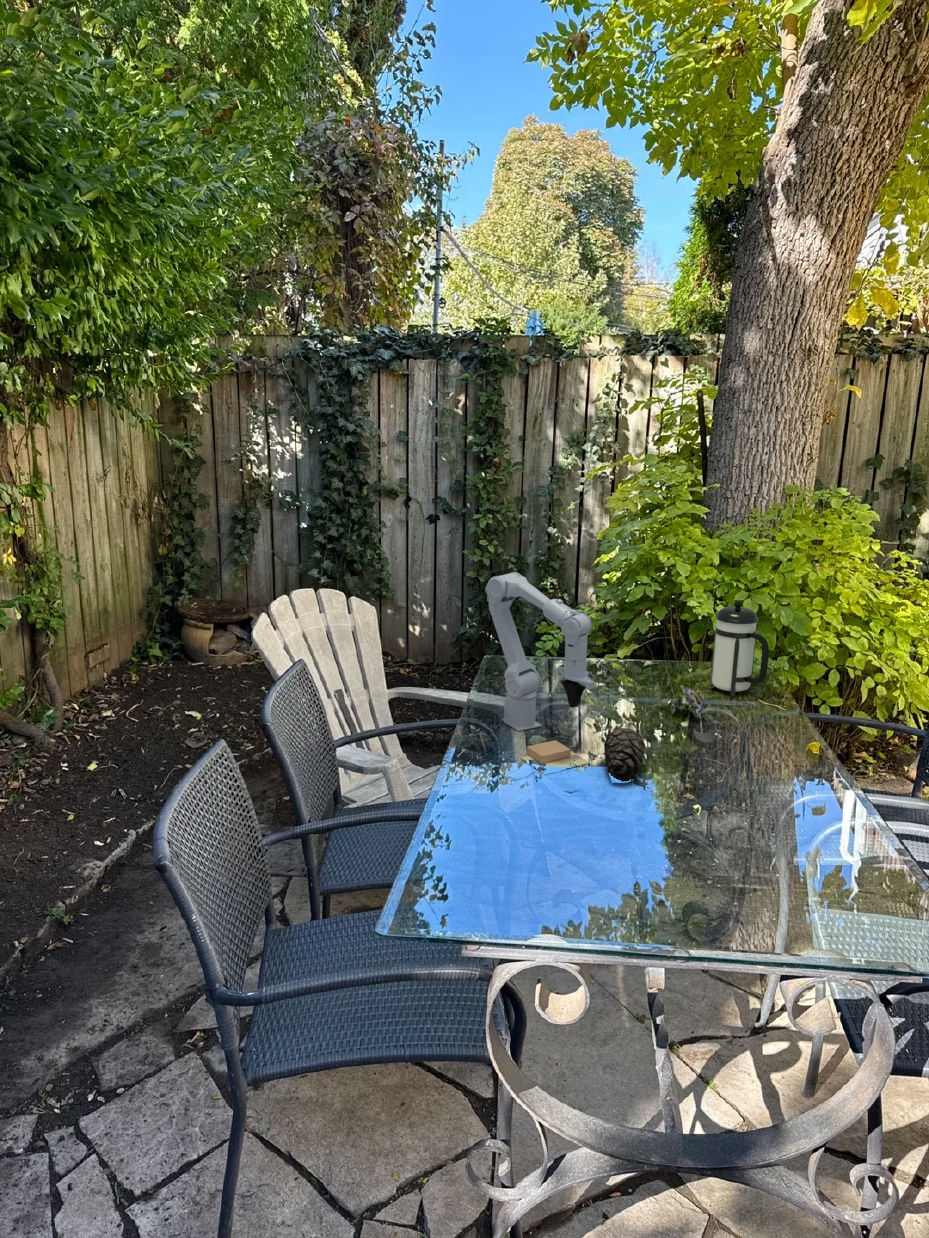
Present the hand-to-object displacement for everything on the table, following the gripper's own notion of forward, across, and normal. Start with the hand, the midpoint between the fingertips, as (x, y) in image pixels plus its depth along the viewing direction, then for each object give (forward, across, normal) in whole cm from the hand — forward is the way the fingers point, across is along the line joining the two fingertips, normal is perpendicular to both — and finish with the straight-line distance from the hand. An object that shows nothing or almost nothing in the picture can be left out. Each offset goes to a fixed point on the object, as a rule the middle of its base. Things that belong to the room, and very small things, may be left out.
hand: (573, 706), depth 215 cm
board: (+10, -9, +12) cm, 18 cm away
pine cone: (+10, -22, 0) cm, 24 cm away
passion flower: (+10, -1, -40) cm, 41 cm away
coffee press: (+10, +8, -70) cm, 71 cm away
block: (+8, -3, +12) cm, 15 cm away
